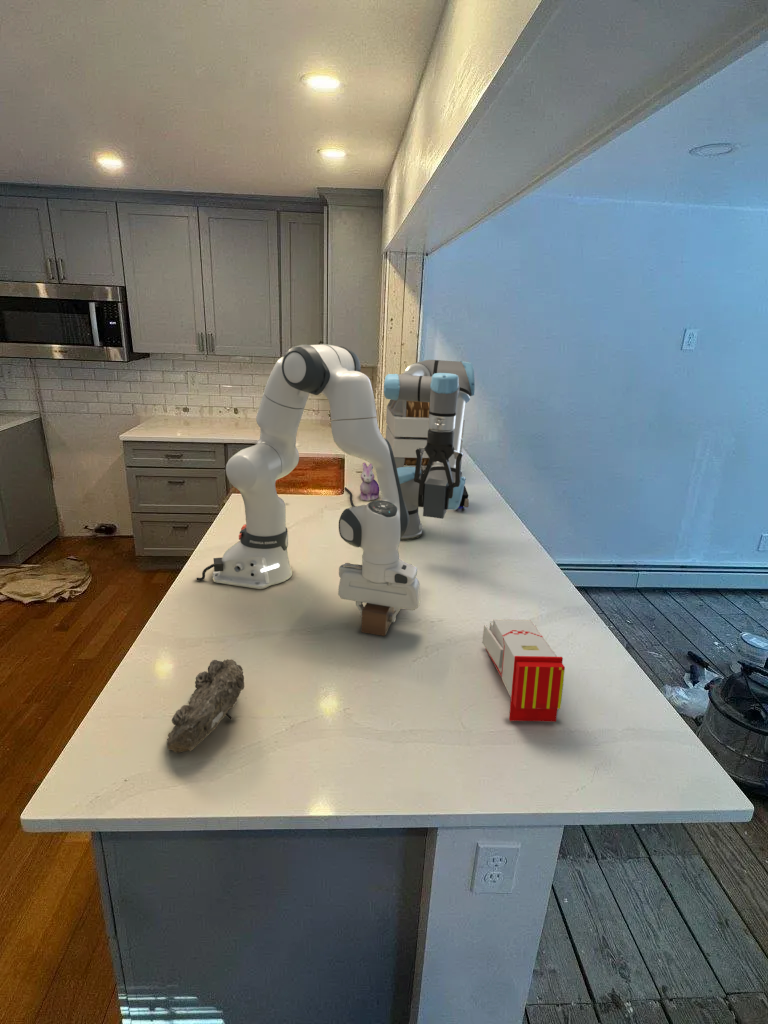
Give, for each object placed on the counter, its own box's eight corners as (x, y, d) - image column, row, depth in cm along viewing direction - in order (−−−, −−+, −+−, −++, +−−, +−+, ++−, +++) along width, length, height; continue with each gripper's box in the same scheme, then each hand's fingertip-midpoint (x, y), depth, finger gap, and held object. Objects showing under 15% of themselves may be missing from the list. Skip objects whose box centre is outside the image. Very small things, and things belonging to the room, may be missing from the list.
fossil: (192, 660, 117) (244, 628, 112) (224, 691, 120) (276, 661, 115) (142, 746, 98) (202, 712, 93) (182, 779, 101) (242, 748, 96)
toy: (529, 604, 135) (573, 663, 106) (524, 656, 138) (566, 727, 109) (478, 603, 135) (509, 662, 105) (474, 655, 137) (503, 727, 108)
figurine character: (468, 516, 224) (463, 500, 237) (471, 498, 221) (465, 483, 234) (452, 515, 224) (447, 499, 237) (453, 498, 220) (449, 482, 234)
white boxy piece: (382, 463, 289) (386, 382, 275) (445, 464, 293) (451, 384, 279) (390, 482, 257) (394, 392, 243) (460, 483, 261) (468, 394, 247)
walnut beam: (390, 579, 166) (391, 561, 164) (410, 582, 165) (411, 564, 163) (361, 632, 139) (362, 610, 136) (385, 636, 137) (386, 614, 135)
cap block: (426, 509, 172) (428, 478, 169) (446, 512, 171) (448, 480, 167) (422, 516, 167) (425, 483, 163) (442, 518, 165) (445, 486, 162)
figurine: (364, 502, 230) (365, 466, 225) (353, 495, 238) (354, 460, 233) (384, 500, 234) (386, 464, 229) (373, 492, 242) (375, 458, 237)
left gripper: (334, 567, 136) (334, 617, 140) (418, 579, 131) (415, 631, 136) (343, 556, 141) (342, 605, 146) (423, 568, 137) (420, 618, 142)
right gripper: (405, 429, 159) (401, 506, 167) (473, 435, 155) (465, 514, 162) (411, 424, 166) (406, 499, 174) (476, 430, 162) (468, 506, 169)
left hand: (377, 618), depth 141 cm, fingers closed on walnut beam, 6 cm apart
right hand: (435, 506), depth 168 cm, fingers closed on cap block, 6 cm apart
